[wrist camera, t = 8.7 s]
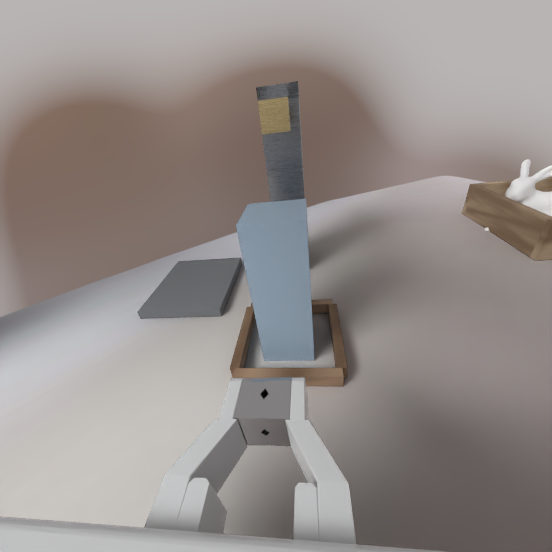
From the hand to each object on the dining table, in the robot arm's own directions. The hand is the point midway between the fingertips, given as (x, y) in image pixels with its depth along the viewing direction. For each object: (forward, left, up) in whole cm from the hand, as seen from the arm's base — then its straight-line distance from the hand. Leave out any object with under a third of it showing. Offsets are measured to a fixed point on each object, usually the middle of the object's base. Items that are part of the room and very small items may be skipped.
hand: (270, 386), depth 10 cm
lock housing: (0, +27, -9) cm, 29 cm away
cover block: (0, +11, -9) cm, 15 cm away
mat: (-13, +21, -9) cm, 27 cm away
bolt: (0, +26, +8) cm, 27 cm away
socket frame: (0, +11, -9) cm, 15 cm away
